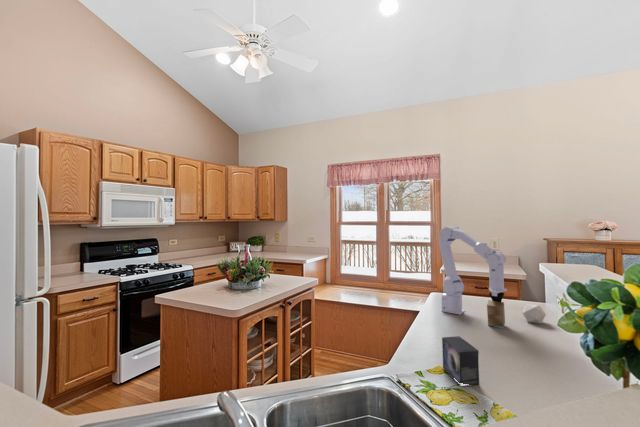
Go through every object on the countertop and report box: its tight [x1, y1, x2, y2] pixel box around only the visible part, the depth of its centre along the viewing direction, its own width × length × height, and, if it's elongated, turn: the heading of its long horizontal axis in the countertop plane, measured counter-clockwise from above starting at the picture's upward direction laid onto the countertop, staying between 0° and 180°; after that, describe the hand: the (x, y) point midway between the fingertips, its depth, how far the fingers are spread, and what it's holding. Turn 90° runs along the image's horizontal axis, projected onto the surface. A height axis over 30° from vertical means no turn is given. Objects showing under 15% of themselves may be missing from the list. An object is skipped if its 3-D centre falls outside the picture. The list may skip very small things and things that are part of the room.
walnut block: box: [486, 299, 506, 330], centre depth 132 cm, size 6×5×10 cm
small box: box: [441, 335, 480, 386], centre depth 91 cm, size 11×6×10 cm, turn 5°
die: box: [521, 303, 547, 325], centre depth 136 cm, size 8×9×10 cm
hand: (497, 308), depth 134 cm, fingers closed
